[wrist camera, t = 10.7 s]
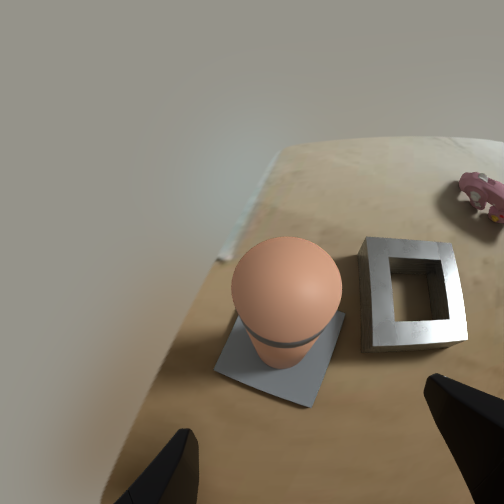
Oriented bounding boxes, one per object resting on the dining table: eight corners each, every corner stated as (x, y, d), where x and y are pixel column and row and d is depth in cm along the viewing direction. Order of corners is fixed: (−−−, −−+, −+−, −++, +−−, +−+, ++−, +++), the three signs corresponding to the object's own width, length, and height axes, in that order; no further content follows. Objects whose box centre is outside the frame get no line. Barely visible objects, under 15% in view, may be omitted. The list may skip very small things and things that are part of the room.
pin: (306, 370, 19) (342, 342, 8) (252, 367, 19) (223, 334, 9) (309, 320, 21) (340, 239, 10) (258, 317, 21) (238, 234, 11)
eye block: (449, 347, 18) (467, 339, 16) (360, 352, 20) (372, 346, 17) (437, 258, 23) (451, 243, 20) (357, 254, 24) (365, 236, 21)
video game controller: (449, 202, 28) (468, 184, 21) (458, 174, 28) (476, 153, 21) (502, 239, 24) (527, 230, 18) (509, 211, 24) (534, 197, 18)
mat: (343, 315, 21) (345, 313, 21) (310, 407, 18) (311, 407, 17) (254, 284, 23) (254, 281, 23) (214, 370, 20) (213, 369, 20)
